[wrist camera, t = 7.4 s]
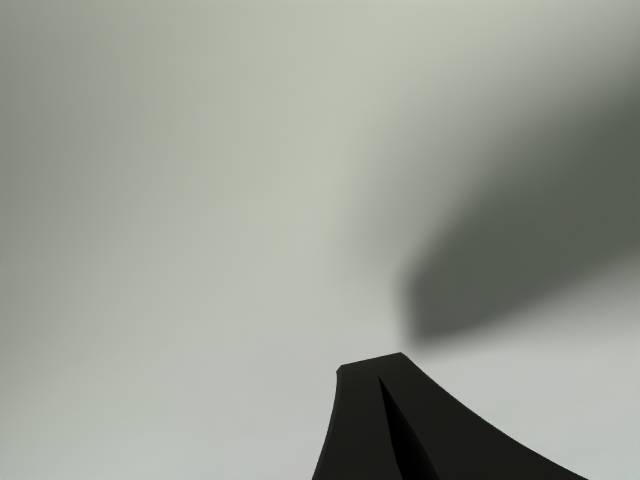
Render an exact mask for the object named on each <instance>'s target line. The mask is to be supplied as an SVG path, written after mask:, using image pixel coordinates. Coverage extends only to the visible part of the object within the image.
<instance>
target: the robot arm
mask: <svg viewBox="0 0 640 480" xmlns="http://www.w3.org/2000/svg"><path fill="white" fill-rule="evenodd" d="M336 373H337V386H336V394H335V400H334V406H333V411H332V415H331V419H330V423H329V427H328V431H327V435H326V438H325V442H324V445H323V448H322V451H321V454H320V457H319V460H318V463H317V466H316V469H315V472H314V475H313V477H312V480H588V479H586V478H584V477H582V476H579V475H577V474H575V473H573V472H571V471H569V470H568V469H566V468H564V467H562V466H560V465H558V464H556V463H554V462H552V461H550V460H549V459H547V458H545V457H543V456H541V455H540V454H538V453H536V452H534V451H532V450H531V449H529V448H527V447H525V446H524V445H522V444H520V443H519V442H517V441H516V440H514V439H512V438H511V437H509V436H508V435H506V434H504V433H503V432H502V431H500V430H499V429H497V428H496V427H494V426H493V425H491V424H490V423H488V422H487V421H485V420H484V419H482V418H481V417H480V416H478V415H477V414H475V413H474V412H473V411H471V410H470V409H469V408H467V407H466V406H465V405H463V404H462V403H461V402H459V401H458V400H457V399H456V398H454V397H453V396H452V395H450V394H449V393H448V392H447V391H445V390H444V389H443V388H442V387H440V386H439V385H438V384H437V383H436V382H435V381H433V380H432V379H431V378H430V377H429V376H427V375H426V374H425V373H424V372H423V371H422V370H421V369H420V368H419V367H417V366H416V365H415V364H414V363H413V362H412V361H411V360H410V359H409V358H408V357H407V356H405V355H404V354H402V353H401V352H399V353H395V354H390V355H385V356H381V357H376V358H372V359H367V360H363V361H358V362H354V363H349V364H345V365H341V366H340V367H339V369H338V370H337V371H336Z"/></svg>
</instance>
